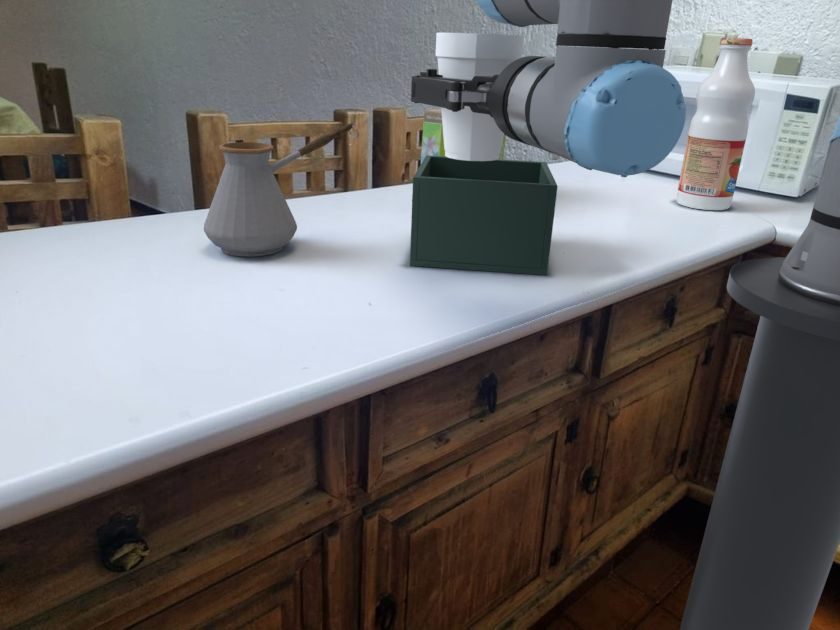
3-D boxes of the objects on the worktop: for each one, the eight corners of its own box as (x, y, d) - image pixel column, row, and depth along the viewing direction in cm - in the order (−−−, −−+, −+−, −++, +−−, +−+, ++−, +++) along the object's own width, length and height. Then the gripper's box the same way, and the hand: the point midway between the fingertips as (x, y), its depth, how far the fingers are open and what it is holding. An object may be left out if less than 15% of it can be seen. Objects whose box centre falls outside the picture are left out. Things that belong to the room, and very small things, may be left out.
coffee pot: (226, 267, 77) (216, 135, 71) (192, 243, 85) (180, 123, 79) (378, 242, 89) (380, 128, 83) (335, 223, 97) (334, 118, 92)
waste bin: (537, 238, 94) (546, 162, 90) (546, 275, 79) (557, 185, 75) (422, 230, 95) (425, 155, 91) (409, 265, 80) (413, 177, 76)
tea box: (468, 204, 112) (474, 114, 107) (417, 196, 117) (420, 109, 111) (502, 190, 124) (509, 109, 119) (454, 183, 129) (459, 104, 123)
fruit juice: (669, 198, 124) (699, 37, 113) (720, 201, 123) (755, 39, 113) (682, 209, 115) (716, 36, 105) (738, 212, 115) (777, 39, 104)
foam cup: (505, 151, 81) (514, 36, 76) (521, 164, 72) (533, 35, 67) (428, 149, 80) (432, 33, 75) (435, 162, 71) (440, 31, 66)
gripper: (421, 147, 56) (371, 117, 76) (649, 147, 61) (547, 119, 81) (424, 52, 53) (372, 47, 73) (663, 60, 58) (554, 54, 78)
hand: (464, 85), depth 77 cm, fingers closed on foam cup, 9 cm apart
